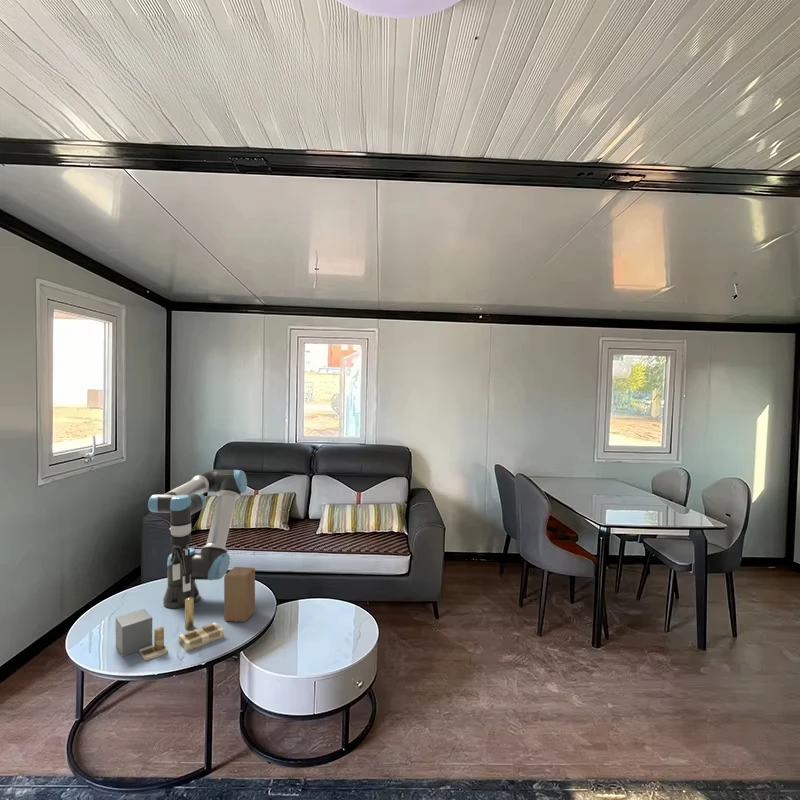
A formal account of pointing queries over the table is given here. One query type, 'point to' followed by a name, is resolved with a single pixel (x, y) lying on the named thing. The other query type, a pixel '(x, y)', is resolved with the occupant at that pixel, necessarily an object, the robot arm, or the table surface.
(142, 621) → the block
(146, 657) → the tan base with post
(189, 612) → the pin
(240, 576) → the wooden block
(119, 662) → the table surface
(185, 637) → the board
